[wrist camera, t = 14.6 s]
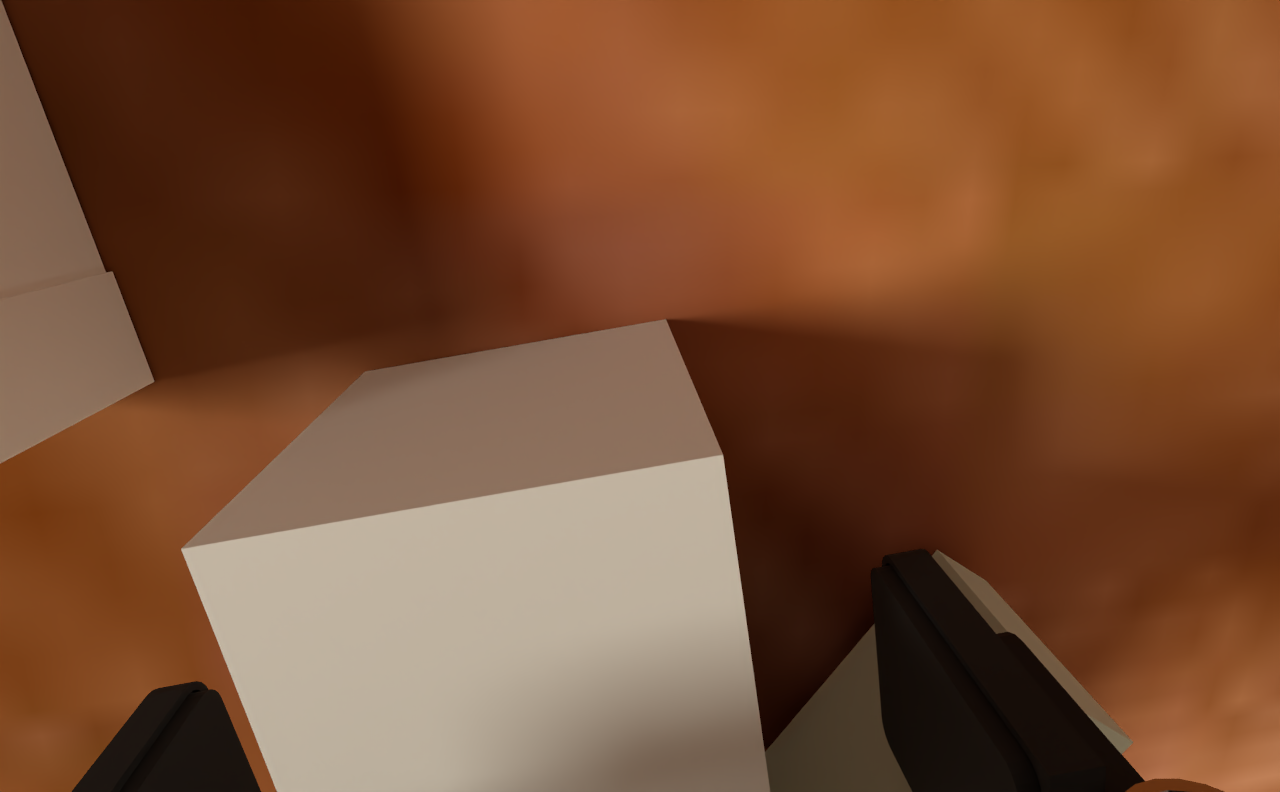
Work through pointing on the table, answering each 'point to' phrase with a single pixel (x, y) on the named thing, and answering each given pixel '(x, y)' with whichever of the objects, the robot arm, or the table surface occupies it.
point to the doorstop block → (494, 582)
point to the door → (851, 710)
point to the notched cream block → (51, 282)
